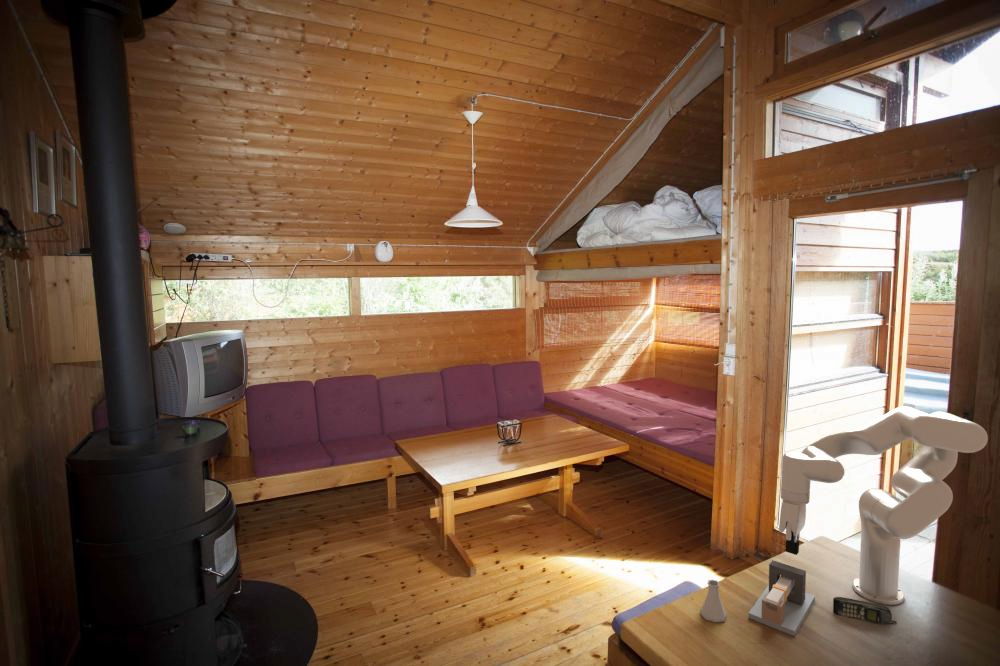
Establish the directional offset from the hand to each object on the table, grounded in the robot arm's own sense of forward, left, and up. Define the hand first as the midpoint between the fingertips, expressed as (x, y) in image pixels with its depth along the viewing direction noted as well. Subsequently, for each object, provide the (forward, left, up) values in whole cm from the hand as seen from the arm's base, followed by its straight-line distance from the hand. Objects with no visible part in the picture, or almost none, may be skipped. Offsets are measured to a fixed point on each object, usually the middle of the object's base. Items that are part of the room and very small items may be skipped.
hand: (792, 552), depth 161 cm
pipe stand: (+10, 0, -13) cm, 16 cm away
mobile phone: (0, +19, -13) cm, 23 cm away
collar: (+6, 0, -11) cm, 13 cm away
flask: (+25, -14, -13) cm, 32 cm away
